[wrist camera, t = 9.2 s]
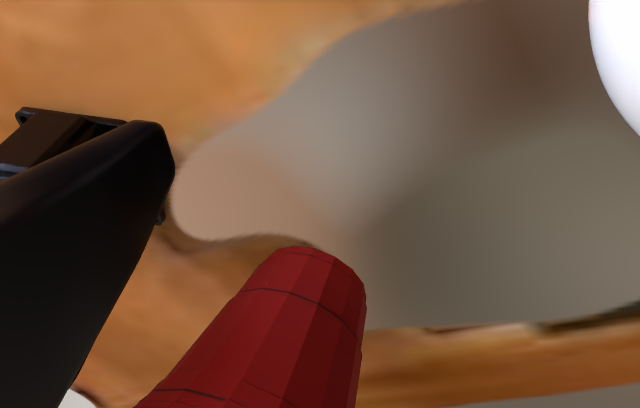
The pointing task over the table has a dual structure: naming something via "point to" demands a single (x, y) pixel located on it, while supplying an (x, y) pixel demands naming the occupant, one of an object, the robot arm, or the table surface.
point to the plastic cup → (277, 341)
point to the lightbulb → (618, 53)
